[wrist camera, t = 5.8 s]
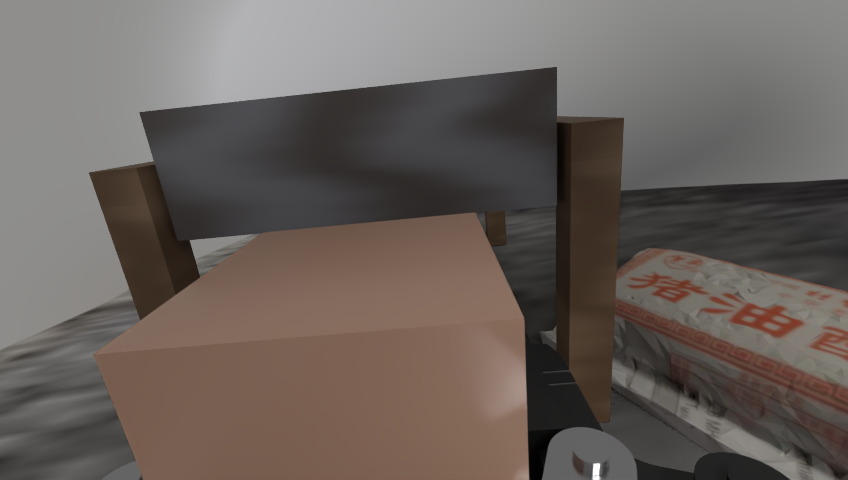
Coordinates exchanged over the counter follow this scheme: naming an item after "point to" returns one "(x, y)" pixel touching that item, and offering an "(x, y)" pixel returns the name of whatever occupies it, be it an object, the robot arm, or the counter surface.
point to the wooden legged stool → (575, 236)
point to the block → (332, 361)
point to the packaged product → (735, 359)
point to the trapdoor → (359, 155)
